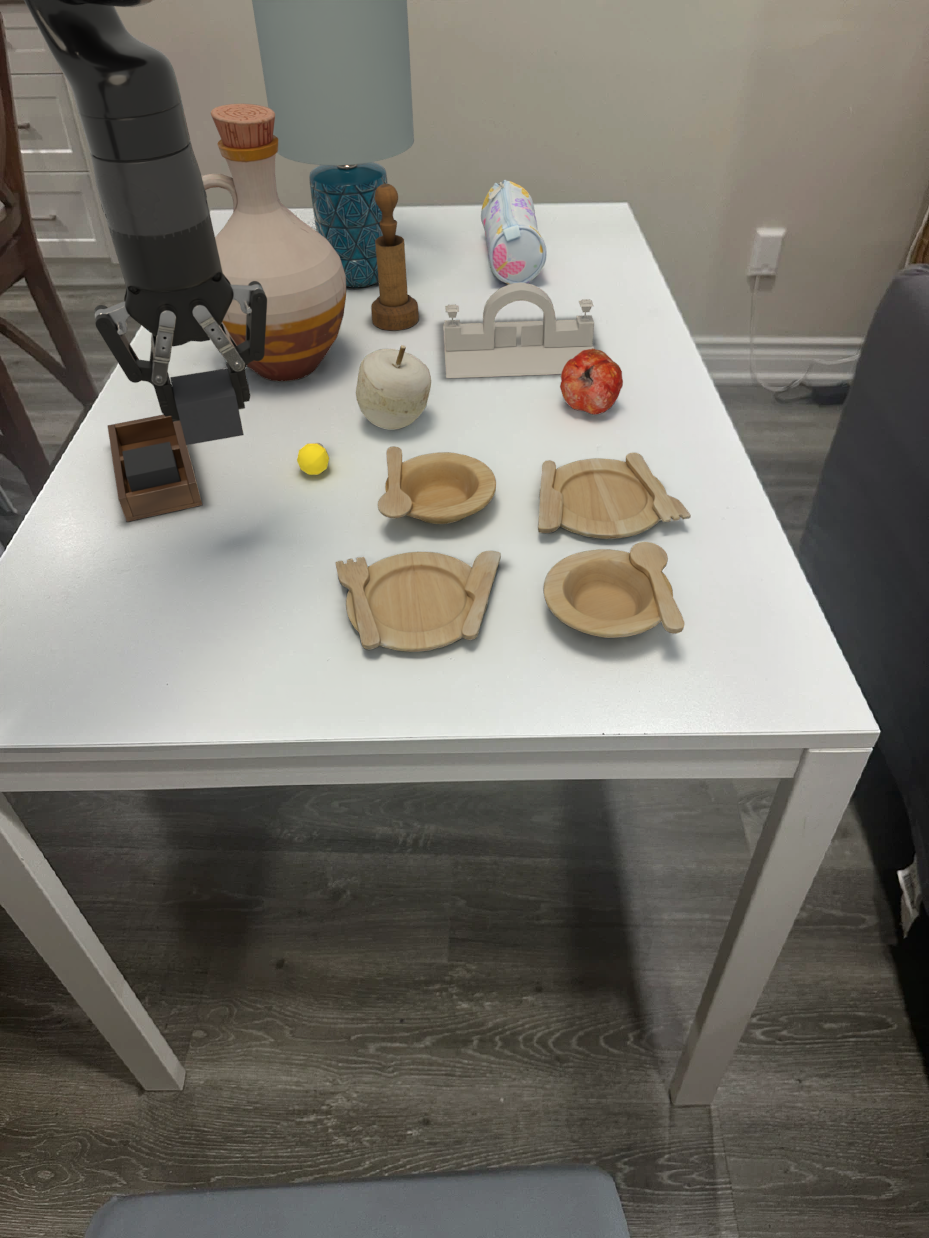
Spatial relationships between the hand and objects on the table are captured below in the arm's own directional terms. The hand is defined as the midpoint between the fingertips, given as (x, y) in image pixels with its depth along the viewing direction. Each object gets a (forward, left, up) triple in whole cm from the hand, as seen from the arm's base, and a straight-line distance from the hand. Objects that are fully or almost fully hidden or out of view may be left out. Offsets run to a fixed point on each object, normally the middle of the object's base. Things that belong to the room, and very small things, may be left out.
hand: (208, 410), depth 77 cm
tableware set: (+25, -12, -16) cm, 32 cm away
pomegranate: (+44, +11, -16) cm, 48 cm away
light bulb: (+10, +11, -16) cm, 22 cm away
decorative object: (+21, +16, -16) cm, 31 cm away
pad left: (-7, +12, -15) cm, 20 cm away
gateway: (+42, +28, -16) cm, 53 cm away
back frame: (-7, +16, -15) cm, 23 cm away
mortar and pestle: (+29, +42, -16) cm, 53 cm away
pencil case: (+52, +54, -16) cm, 76 cm away
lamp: (+28, +58, -16) cm, 66 cm away
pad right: (0, 0, -2) cm, 2 cm away
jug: (+11, +35, -16) cm, 40 cm away
